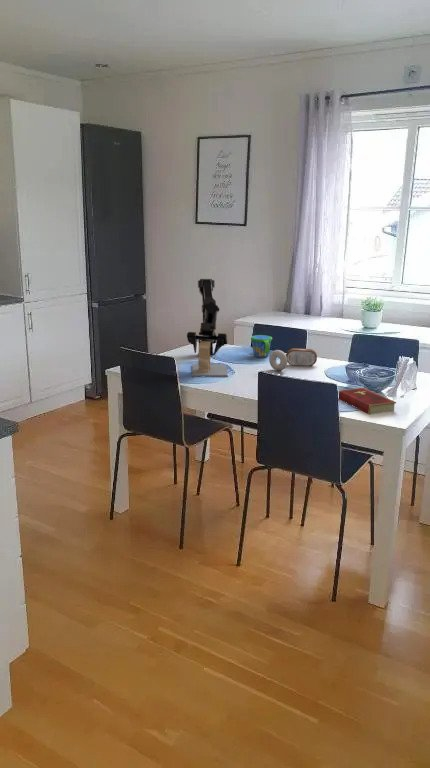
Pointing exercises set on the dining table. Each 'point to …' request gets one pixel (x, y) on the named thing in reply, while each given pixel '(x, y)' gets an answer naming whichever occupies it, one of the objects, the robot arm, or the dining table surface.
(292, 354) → the tin
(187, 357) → the dining table surface
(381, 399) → the hardcover book
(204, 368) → the wooden block
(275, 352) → the donut
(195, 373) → the slate mat
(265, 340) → the snack cup
